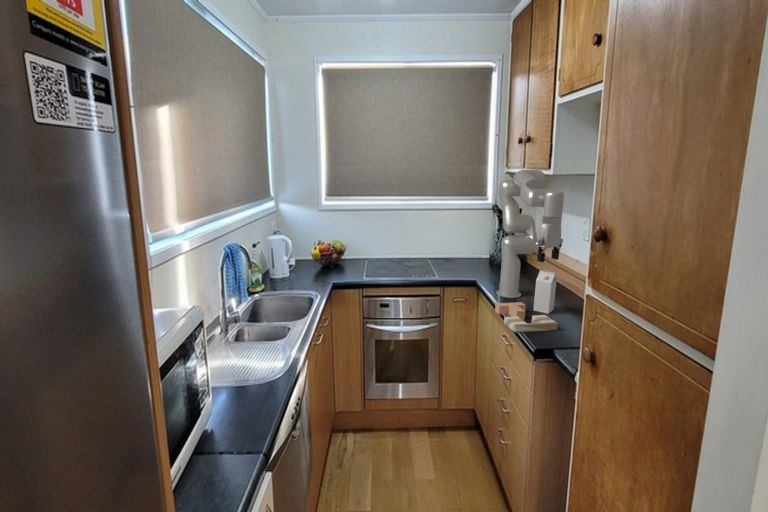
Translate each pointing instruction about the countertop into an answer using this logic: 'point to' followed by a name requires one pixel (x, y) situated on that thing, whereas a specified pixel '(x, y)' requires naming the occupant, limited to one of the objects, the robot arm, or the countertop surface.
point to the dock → (531, 324)
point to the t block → (511, 309)
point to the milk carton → (545, 292)
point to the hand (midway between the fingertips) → (547, 260)
